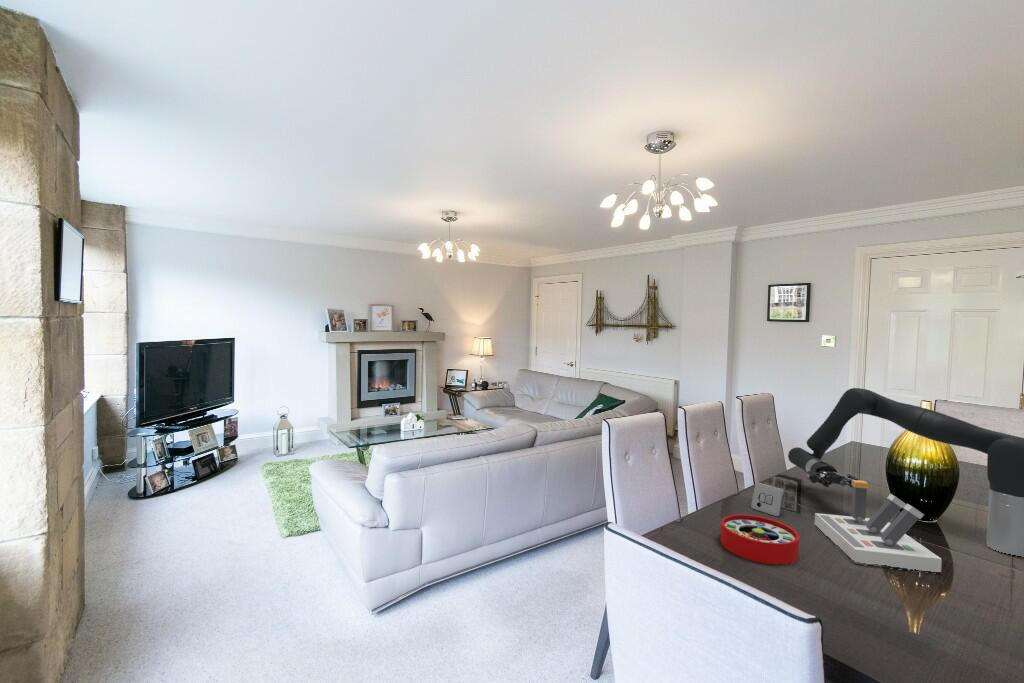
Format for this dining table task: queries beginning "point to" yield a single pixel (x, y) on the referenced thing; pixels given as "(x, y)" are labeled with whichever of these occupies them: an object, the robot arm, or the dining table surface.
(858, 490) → the lever
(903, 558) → the panel
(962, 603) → the dining table surface
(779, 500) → the electrical switch
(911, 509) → the lever
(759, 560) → the toy clock
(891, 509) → the breaker mid
